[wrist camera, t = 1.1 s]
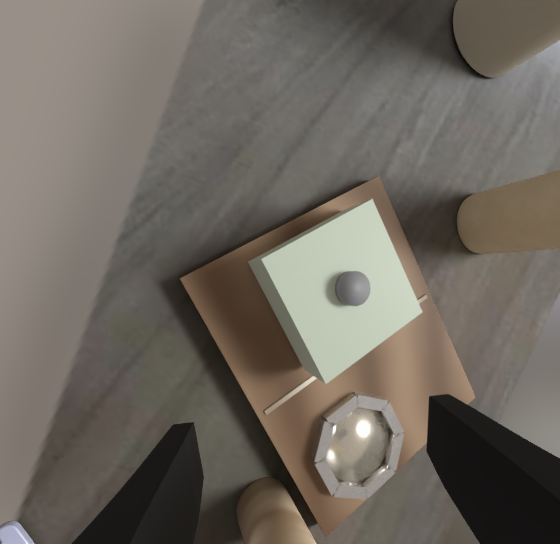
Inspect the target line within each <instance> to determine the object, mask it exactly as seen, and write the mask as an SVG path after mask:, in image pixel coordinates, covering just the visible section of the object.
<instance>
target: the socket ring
mask: <svg viewBox="0 0 560 544" xmlns="http://www.w3.org/2000/svg"><path fill="white" fill-rule="evenodd" d="M376 410H377V411H379V412H380V414H381V415H380V414H379V413H378V412H377V411H376ZM322 416H323V418H320V421H319V425H318V429H317V433H316V437H315V441H314V445H313V449H312V453H311V458H312V459H311V461H312V463H313V465H314V466H315V468H316V470H317V472H318V474H319V476H320V477H321V479H322V481H323V483H324V485H325V486H326V488H327V490H328V491H329V493H330V494H331V495H333V497H339V498H354V499H366V497H367V498H369V497H370V496H371V495H372V494H373V493H374V492H375V491H376V490H377V489H379V488H380V487H381V486H382V485H383V484H384V483H385V482H386V481H387V480H388V479H389V478H390V477H391V476H392V475H393V474H395V473H394V471H396V469H397V465H398V460H399V455H400V451H401V446H402V442H403V437H404V434H403V432H404V431H403V428H402V426H401V424H400V422H399V420H398V418H397V416H396V414H395V412H394V410H393V408H392V406H391V404H390V402H388V400H386V399H384V398H381V397H377V396H372V395H367V394H362V393H357V392H353V393H350V394H348V395H347V396H346V397H344V398H343V399H342V400H341V401H339V402H338V403H337V404H335V405H334V406H333V407H332V408H330V409H329V410H328V411H326V412H325V413H324V414H323V415H322ZM387 428H388V429H387ZM388 430H389V436H388ZM382 461H383V462H382ZM393 470H394V471H393ZM335 476H336V477H337V478H339V479H341V480H337V479H336V477H335ZM360 480H362V481H361V482H358V481H360Z"/></svg>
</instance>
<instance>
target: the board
mask: <svg viewBox="0 0 560 544" xmlns="http://www.w3.org/2000/svg"><path fill="white" fill-rule="evenodd" d="M371 199H373V201H374V204H375V206H376V208H377V210H378V213H379V215H380V217H381V219H382V222H383V224H384V226H385V228H386V231H387V233H388V235H389V237H390V240H391V242H392V244H393V246H394V249H395V251H396V253H397V255H398V258H399V260H400V262H401V264H402V267H403V269H404V271H405V273H406V276H407V278H408V280H409V282H410V285H411V287H412V289H413V291H414V294H415V296H416V298H417V300H418V303H419V305H420V307H421V309H422V313H421V314H420V315H418V316H417V317H416V318H414V319H413V320H411V321H410V322H409V323H407V324H406V325H405V326H403V327H402V328H401V329H399V330H398V331H397V332H395V333H394V334H393V335H391V336H390V337H389V338H387V339H386V340H385V341H383V342H382V343H381V344H379V345H378V346H377V347H375V348H374V349H373V350H371V351H370V352H369V353H367V354H366V355H365V356H363V357H362V358H361V359H359V360H358V361H356V362H355V363H354V364H352V365H351V366H350V367H348V368H347V369H346V370H344V371H343V372H342V373H340V374H339V375H338V376H336V377H335V378H334V379H332V380H331V381H330V382H328V383H327V384H325V383H323V382H322V381H320V380H319V379H317V378H316V377H314V376H313V375H311V374H310V373H309V372H307V371H306V370H304V368H303V366H302V364H301V363H300V361H299V359H298V357H297V355H296V353H295V351H294V349H293V347H292V345H291V343H290V342H289V340H288V338H287V336H286V334H285V332H284V330H283V328H282V326H281V324H280V322H279V321H278V319H277V317H276V315H275V313H274V311H273V309H272V307H271V305H270V303H269V301H268V300H267V298H266V296H265V294H264V292H263V290H262V288H261V286H260V284H259V282H258V280H257V279H256V277H255V275H254V273H253V271H252V269H251V267H250V265H249V263H248V261H250V260H252V259H254V258H256V257H258V256H260V255H261V254H263V253H265V252H267V251H269V250H271V249H273V248H274V247H276V246H278V245H280V244H282V243H284V242H286V241H287V240H289V239H291V238H293V237H295V236H297V235H299V234H301V233H302V232H304V231H306V230H308V229H310V228H312V227H314V226H315V225H317V224H319V223H321V222H323V221H325V220H327V219H328V218H330V217H332V216H334V215H336V214H338V213H340V212H341V211H343V210H345V209H347V208H350V207H353V206H355V205H358V204H360V203H363V202H365V201H368V200H371ZM179 279H180V281H181V282H182V284H183V286H184V288H185V289H186V291H187V293H188V295H189V296H190V298H191V300H192V302H193V304H194V305H195V307H196V309H197V311H198V312H199V314H200V316H201V318H202V319H203V321H204V323H205V325H206V327H207V328H208V330H209V332H210V334H211V335H212V337H213V339H214V341H215V342H216V344H217V346H218V348H219V350H220V351H221V353H222V355H223V357H224V358H225V360H226V362H227V364H228V366H229V367H230V369H231V371H232V373H233V374H234V376H235V378H236V380H237V381H238V383H239V385H240V387H241V389H242V390H243V392H244V394H245V396H246V397H247V399H248V401H249V403H250V404H251V406H252V408H253V410H254V412H255V413H256V415H257V417H258V419H259V420H260V422H261V424H262V426H263V427H264V429H265V431H266V433H267V435H268V436H269V438H270V440H271V442H272V443H273V445H274V447H275V449H276V450H277V452H278V454H279V456H280V458H281V459H282V461H283V463H284V465H285V466H286V468H287V470H288V472H289V473H290V475H291V477H292V479H293V481H294V482H295V484H296V486H297V488H298V489H299V491H300V493H301V495H302V496H303V498H304V500H305V502H306V504H307V505H308V507H309V509H310V511H311V512H312V514H313V516H314V518H315V519H316V521H317V523H318V525H319V526H320V528H321V530H322V531H323V533H324V535H325V536H326V537H327V536H328V535H329V534H330V533H331V532H332V531H333V530H334V529H335V528H336V527H337V526H338V525H339V524H341V523H342V522H343V521H344V520H345V519H346V518H347V517H348V516H349V515H350V514H351V513H352V512H353V511H354V510H355V509H357V508H358V507H359V506H360V505H361V504H362V503H363V502H364V501H365V500H366V499H367V497H366V499H354V498H339V497H333V495H331V494H330V493H329V491H328V490H327V488H326V486H325V485H324V483H323V481H322V479H321V477H320V476H319V474H318V472H317V470H316V468H315V466H314V465H313V463H312V461H311V459H312V458H311V453H312V449H313V445H314V441H315V437H316V433H317V429H318V425H319V421H320V418H323V416H322V415H323V414H324V413H325V412H326V411H328V410H329V409H330V408H332V407H333V406H334V405H335V404H337V403H338V402H339V401H341V400H342V399H343V398H344V397H346V396H347V395H348V394H350V393H353V392H357V393H362V394H367V395H372V396H377V397H381V398H384V399H386V400H388V402H390V404H391V406H392V408H393V410H394V412H395V414H396V416H397V418H398V420H399V422H400V424H401V426H402V428H403V431H404V432H403V434H404V437H403V442H402V446H401V451H400V455H399V460H398V465H397V469H396V471H397V470H398V469H399V468H400V467H401V466H402V465H403V464H405V463H406V462H407V461H408V460H409V459H410V458H411V457H412V456H413V455H414V454H415V453H416V452H417V451H418V450H419V449H420V448H422V447H423V446H424V445H425V444H426V443H427V430H428V407H429V396H434V395H443V394H449V395H451V396H453V397H455V398H457V399H458V400H460V401H462V402H464V403H465V404H468V403H470V402H471V401H472V400H473V399H474V398H475V395H474V393H473V390H472V388H471V386H470V383H469V381H468V379H467V377H466V374H465V372H464V370H463V367H462V365H461V363H460V360H459V358H458V356H457V354H456V351H455V349H454V347H453V344H452V342H451V340H450V338H449V335H448V333H447V331H446V328H445V326H444V324H443V321H442V319H441V317H440V315H439V312H438V310H437V308H436V305H435V303H434V301H433V298H432V296H431V294H430V292H429V289H428V287H427V285H426V282H425V280H424V278H423V275H422V273H421V271H420V269H419V266H418V264H417V262H416V259H415V257H414V255H413V253H412V250H411V248H410V246H409V243H408V241H407V239H406V236H405V234H404V232H403V230H402V227H401V225H400V223H399V220H398V218H397V216H396V213H395V211H394V209H393V207H392V204H391V202H390V200H389V197H388V195H387V193H386V191H385V188H384V186H383V184H382V181H381V179H380V177H379V176H377V177H375V178H373V179H371V180H369V181H367V182H365V183H363V184H361V185H359V186H358V187H356V188H354V189H352V190H350V191H348V192H346V193H344V194H342V195H340V196H338V197H336V198H334V199H332V200H330V201H328V202H327V203H325V204H323V205H321V206H319V207H317V208H315V209H313V210H311V211H309V212H307V213H305V214H303V215H301V216H299V217H297V218H296V219H294V220H292V221H290V222H288V223H286V224H284V225H282V226H280V227H278V228H276V229H274V230H272V231H270V232H268V233H266V234H265V235H263V236H261V237H259V238H257V239H255V240H253V241H251V242H249V243H247V244H245V245H243V246H241V247H239V248H237V249H235V250H234V251H232V252H230V253H228V254H226V255H224V256H222V257H220V258H218V259H216V260H214V261H212V262H210V263H208V264H206V265H204V266H203V267H201V268H199V269H197V270H195V271H193V272H191V273H189V274H187V275H185V276H183V277H181V278H179ZM376 411H377V410H376ZM377 412H378V413H379V414H380V412H379V411H377ZM380 415H381V414H380ZM387 429H388V428H387ZM388 436H389V430H388ZM382 462H383V461H382ZM393 471H394V470H393ZM396 471H394V473H395V472H396ZM335 477H336V476H335ZM336 479H337V480H341V479H339V478H337V477H336ZM361 481H362V480H360V481H358V482H361Z"/></svg>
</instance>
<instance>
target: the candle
mask: <svg viewBox="0 0 560 544" xmlns="http://www.w3.org/2000/svg"><path fill="white" fill-rule="evenodd" d="M457 229H458V233H459V236H460V239H461V241H462V242H463V244H464V245H465V246H466V248H468V249H469V250H470V251H472V252H474V253H478V254H493V253H506V252H519V251H532V250H545V249H559V248H560V170H559V171H555V172H551V173H548V174H544V175H540V176H537V177H533V178H530V179H526V180H522V181H519V182H515V183H511V184H508V185H504V186H501V187H497V188H493V189H490V190H486V191H483V192H479V193H476V194H473V195H471V196H469V197H467V198H466V199H465V200H464V201H463V202H462V204H461V206H460V208H459V211H458V214H457Z"/></svg>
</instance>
